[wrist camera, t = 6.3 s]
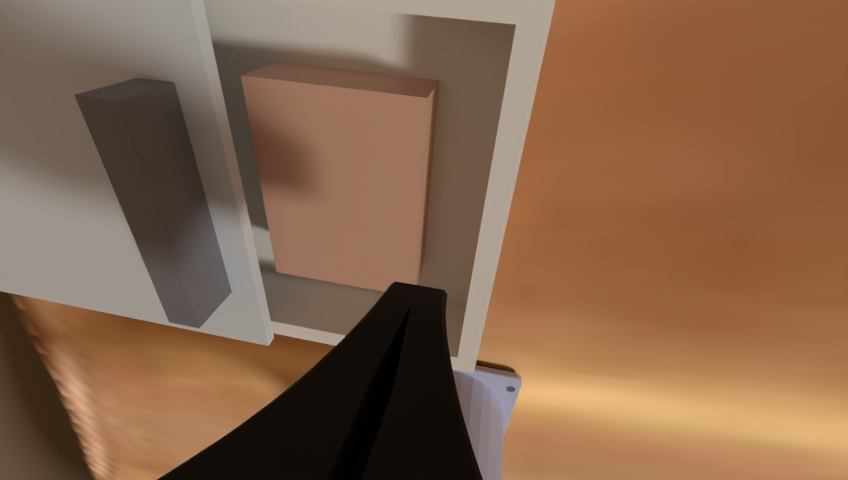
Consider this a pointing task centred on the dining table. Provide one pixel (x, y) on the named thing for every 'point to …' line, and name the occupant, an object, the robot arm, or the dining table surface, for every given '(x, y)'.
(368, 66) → the box
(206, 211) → the lid
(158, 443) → the dining table surface
